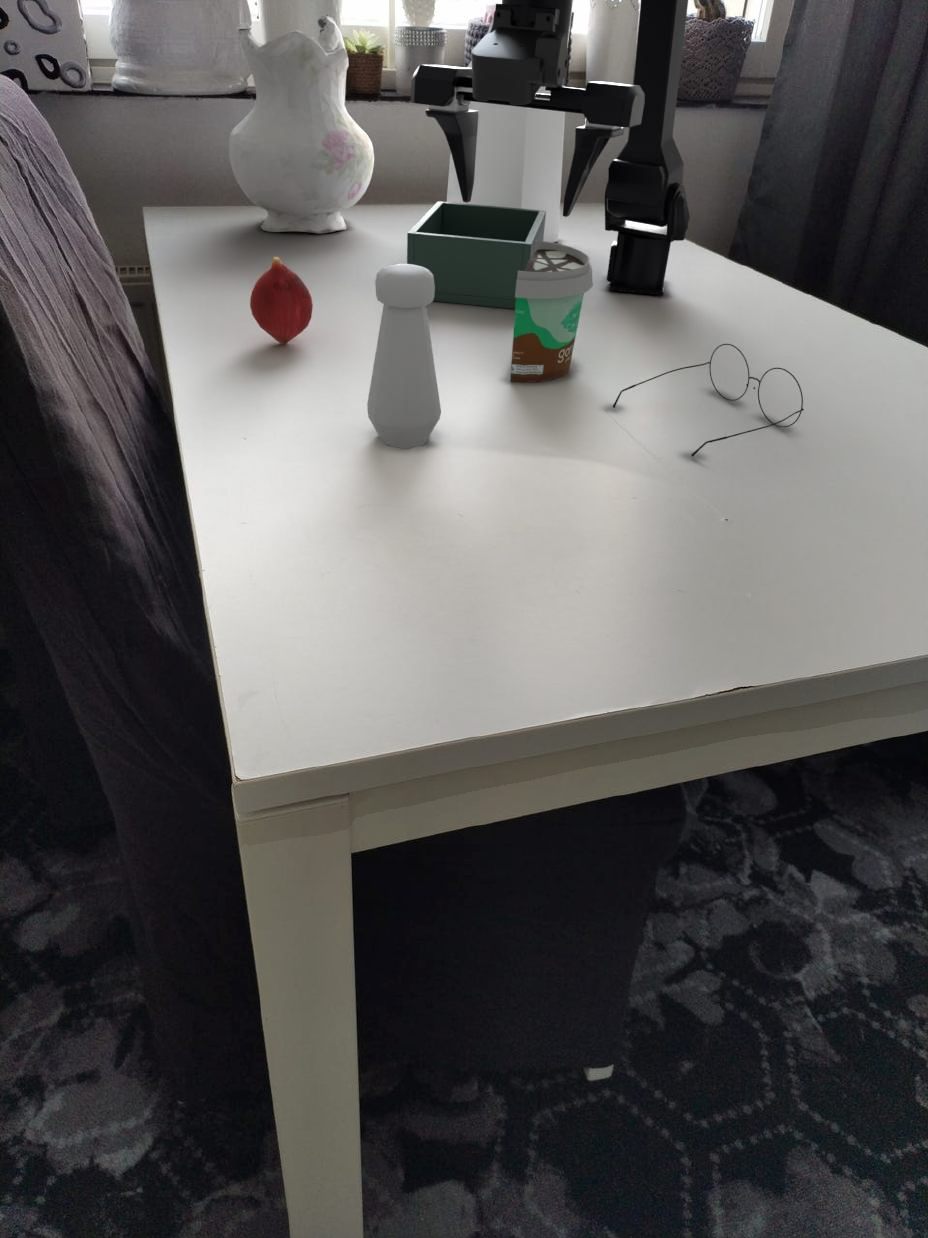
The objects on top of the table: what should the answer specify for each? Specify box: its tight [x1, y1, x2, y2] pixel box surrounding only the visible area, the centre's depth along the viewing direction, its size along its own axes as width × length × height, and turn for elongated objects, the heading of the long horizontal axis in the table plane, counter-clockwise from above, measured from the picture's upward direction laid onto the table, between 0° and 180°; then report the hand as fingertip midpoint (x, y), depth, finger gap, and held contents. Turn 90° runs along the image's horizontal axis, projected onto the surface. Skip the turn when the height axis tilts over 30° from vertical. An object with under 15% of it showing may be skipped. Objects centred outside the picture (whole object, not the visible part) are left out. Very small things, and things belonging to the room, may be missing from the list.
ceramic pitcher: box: [228, 14, 375, 235], centre depth 120 cm, size 22×20×25 cm
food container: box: [509, 241, 594, 383], centre depth 82 cm, size 12×6×10 cm, turn 168°
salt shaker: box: [366, 263, 442, 450], centre depth 67 cm, size 6×6×13 cm
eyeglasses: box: [612, 343, 805, 457], centre depth 74 cm, size 11×13×5 cm
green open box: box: [406, 200, 546, 310], centre depth 105 cm, size 14×18×7 cm
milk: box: [445, 15, 566, 243], centre depth 117 cm, size 12×12×26 cm
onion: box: [249, 256, 314, 345], centre depth 84 cm, size 6×6×8 cm
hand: (515, 208), depth 78 cm, fingers open, 9 cm apart
